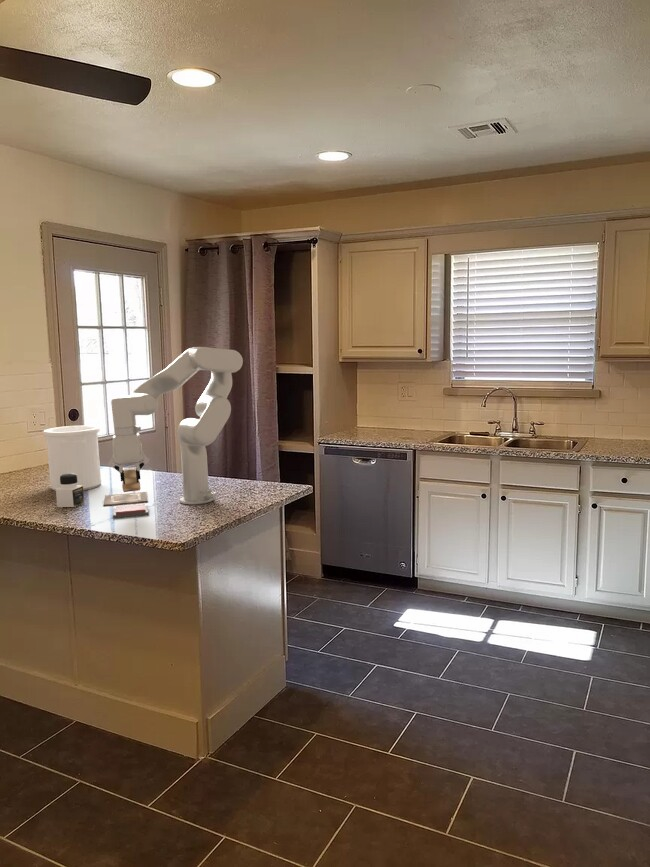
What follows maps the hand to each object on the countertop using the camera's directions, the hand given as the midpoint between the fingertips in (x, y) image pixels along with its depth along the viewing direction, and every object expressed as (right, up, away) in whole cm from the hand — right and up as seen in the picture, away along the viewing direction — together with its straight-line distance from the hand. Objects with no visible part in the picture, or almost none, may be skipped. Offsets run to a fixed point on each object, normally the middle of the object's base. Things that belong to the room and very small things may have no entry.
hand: (130, 481), depth 241 cm
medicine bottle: (-27, -10, +16) cm, 33 cm away
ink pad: (0, -11, +1) cm, 11 cm away
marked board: (-8, -9, +23) cm, 26 cm away
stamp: (0, -3, 0) cm, 3 cm away
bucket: (-37, -6, +48) cm, 61 cm away
